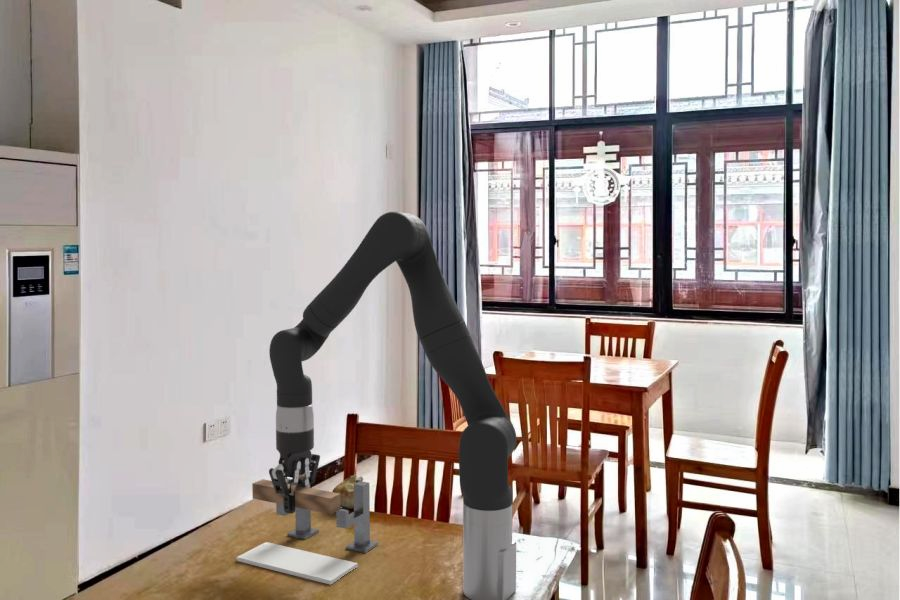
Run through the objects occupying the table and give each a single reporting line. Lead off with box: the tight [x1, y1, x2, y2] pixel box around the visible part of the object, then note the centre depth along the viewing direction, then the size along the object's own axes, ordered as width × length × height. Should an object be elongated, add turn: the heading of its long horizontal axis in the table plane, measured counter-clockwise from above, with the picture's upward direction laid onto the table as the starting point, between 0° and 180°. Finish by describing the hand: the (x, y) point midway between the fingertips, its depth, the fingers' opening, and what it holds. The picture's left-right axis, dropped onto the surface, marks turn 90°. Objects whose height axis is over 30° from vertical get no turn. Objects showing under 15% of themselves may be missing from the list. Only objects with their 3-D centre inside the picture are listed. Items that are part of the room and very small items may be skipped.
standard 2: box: [335, 481, 379, 554], centre depth 158 cm, size 5×10×14 cm, turn 153°
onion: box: [331, 474, 364, 510], centre depth 185 cm, size 8×8×8 cm
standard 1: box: [275, 479, 320, 540], centre depth 166 cm, size 5×10×14 cm, turn 153°
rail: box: [251, 478, 341, 515], centre depth 151 cm, size 20×3×3 cm, turn 63°
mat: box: [236, 541, 359, 586], centre depth 152 cm, size 24×9×1 cm, turn 63°
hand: (295, 509), depth 151 cm, fingers closed on rail, 3 cm apart
